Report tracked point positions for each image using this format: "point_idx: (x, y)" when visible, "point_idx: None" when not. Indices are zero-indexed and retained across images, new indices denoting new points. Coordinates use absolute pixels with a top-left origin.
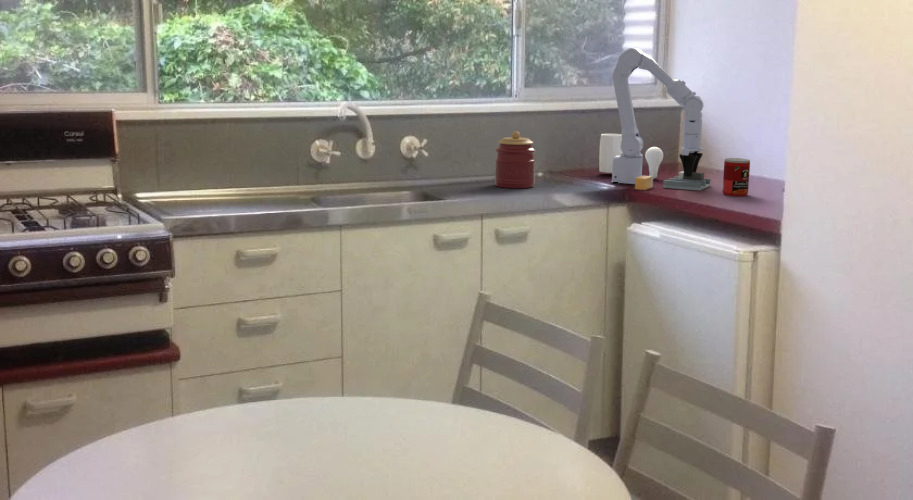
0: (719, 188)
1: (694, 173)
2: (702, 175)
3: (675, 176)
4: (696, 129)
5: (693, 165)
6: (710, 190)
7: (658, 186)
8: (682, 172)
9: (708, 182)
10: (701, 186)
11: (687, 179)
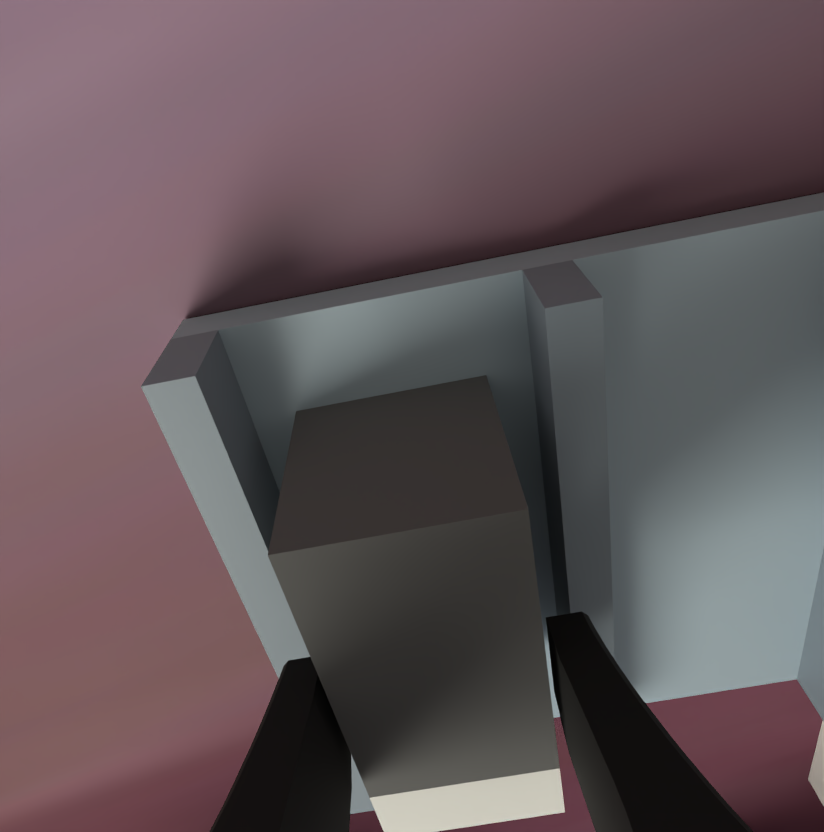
0: (329, 6)
1: (542, 629)
2: (423, 496)
3: (353, 805)
4: None
5: (670, 824)
6: (789, 6)
7: (716, 711)
8: (534, 785)
9: (220, 365)
10: (688, 273)
11: (579, 602)
